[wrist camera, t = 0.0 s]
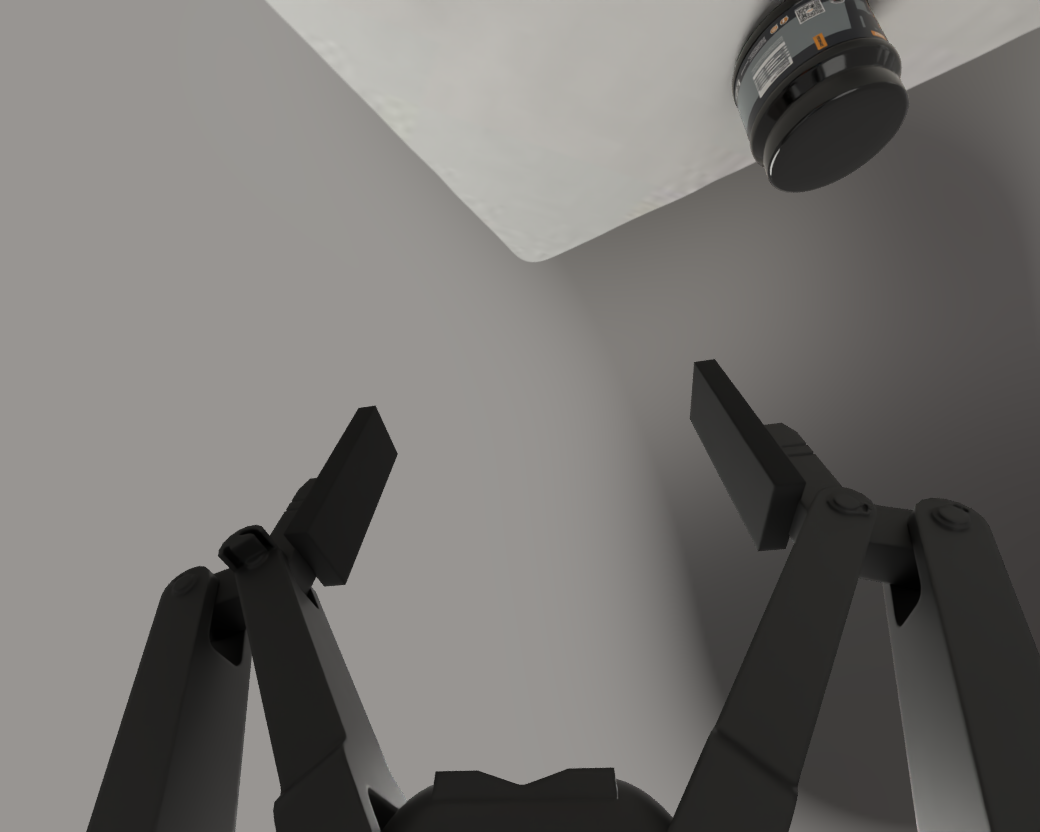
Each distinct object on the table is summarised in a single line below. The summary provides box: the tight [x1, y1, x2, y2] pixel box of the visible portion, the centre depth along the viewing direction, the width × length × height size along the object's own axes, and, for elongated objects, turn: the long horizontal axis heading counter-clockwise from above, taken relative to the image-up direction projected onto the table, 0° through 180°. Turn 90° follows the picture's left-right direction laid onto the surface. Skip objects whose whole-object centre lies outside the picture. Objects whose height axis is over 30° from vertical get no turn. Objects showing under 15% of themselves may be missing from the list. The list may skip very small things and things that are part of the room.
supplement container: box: [732, 0, 909, 193], centre depth 36 cm, size 10×10×12 cm
